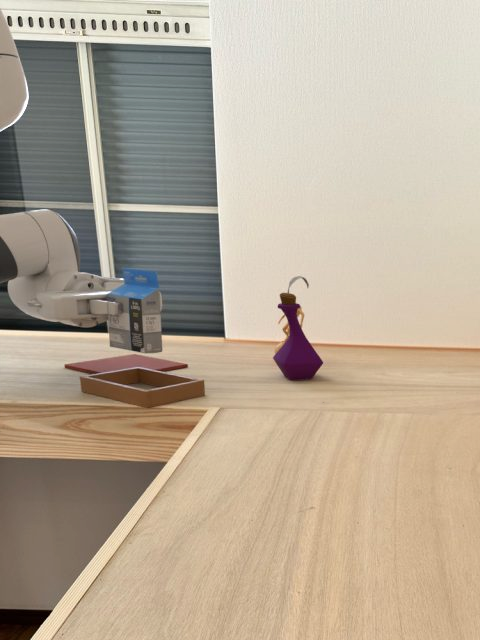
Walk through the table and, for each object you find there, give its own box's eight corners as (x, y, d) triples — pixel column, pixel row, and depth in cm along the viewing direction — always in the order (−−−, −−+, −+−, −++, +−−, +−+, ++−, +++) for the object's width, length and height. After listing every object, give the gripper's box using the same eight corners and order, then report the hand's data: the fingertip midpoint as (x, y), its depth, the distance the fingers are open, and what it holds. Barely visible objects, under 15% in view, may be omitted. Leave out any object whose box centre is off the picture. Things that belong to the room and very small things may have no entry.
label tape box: (108, 347, 118) (101, 267, 113) (129, 345, 121) (123, 267, 116) (144, 355, 113) (137, 271, 108) (165, 352, 116) (159, 271, 112)
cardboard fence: (147, 407, 111) (146, 391, 110) (81, 391, 119) (79, 376, 118) (205, 395, 120) (204, 380, 119) (140, 380, 128) (138, 366, 127)
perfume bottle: (284, 382, 130) (281, 277, 124) (273, 374, 137) (270, 274, 130) (323, 380, 133) (323, 277, 127) (310, 372, 140) (310, 274, 133)
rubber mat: (118, 379, 129) (117, 376, 129) (64, 367, 137) (64, 364, 137) (188, 367, 141) (187, 364, 141) (135, 356, 149) (134, 354, 149)
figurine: (265, 359, 151) (264, 299, 146) (290, 357, 154) (289, 298, 150) (287, 366, 145) (286, 304, 141) (312, 363, 149) (312, 302, 144)
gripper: (17, 282, 112) (71, 289, 105) (129, 278, 128) (182, 284, 121) (23, 323, 115) (76, 334, 108) (132, 314, 131) (184, 323, 123)
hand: (133, 307), depth 114 cm, fingers closed on label tape box, 4 cm apart
